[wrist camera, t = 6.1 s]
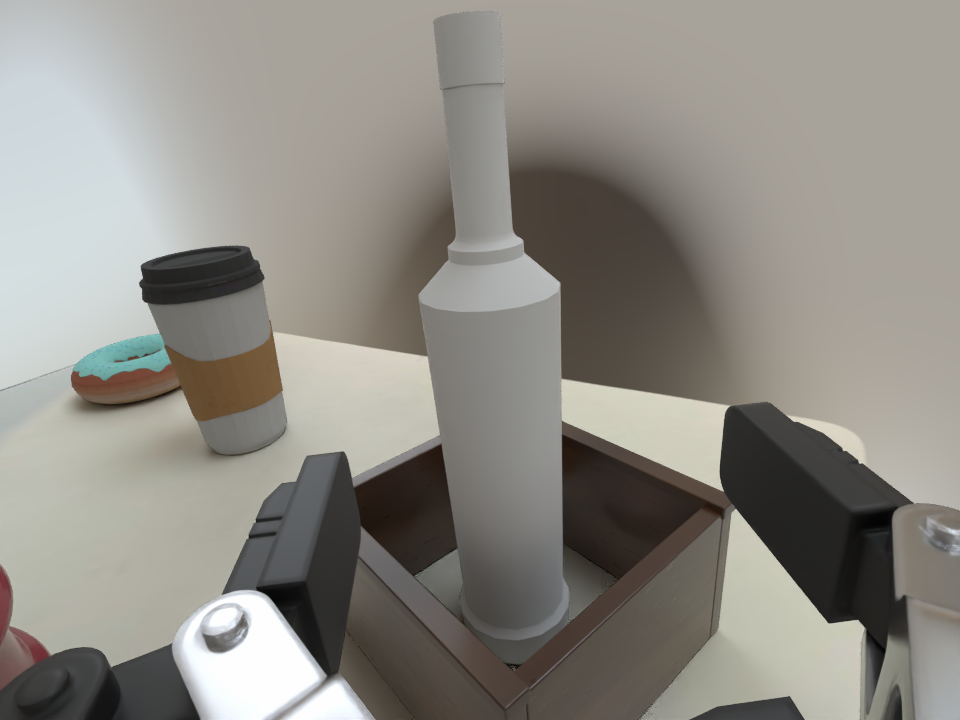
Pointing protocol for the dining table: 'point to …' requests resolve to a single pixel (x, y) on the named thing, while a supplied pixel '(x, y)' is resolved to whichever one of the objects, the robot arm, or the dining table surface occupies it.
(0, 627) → the kitchen canister
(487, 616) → the bottle
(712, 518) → the crate
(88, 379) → the donut
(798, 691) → the dining table surface
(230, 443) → the coffee cup
